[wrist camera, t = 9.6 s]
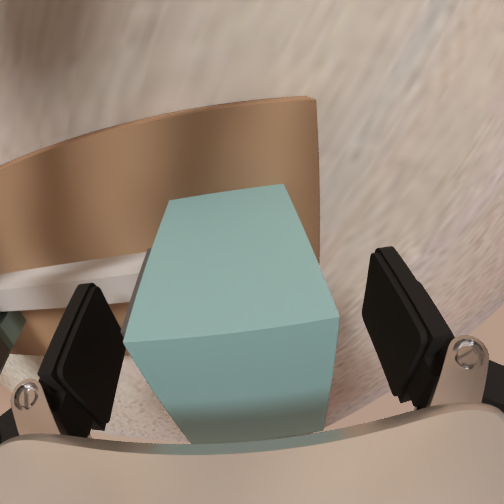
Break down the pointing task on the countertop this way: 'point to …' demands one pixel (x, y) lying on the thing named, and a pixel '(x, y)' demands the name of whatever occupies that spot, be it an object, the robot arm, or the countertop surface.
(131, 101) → the countertop surface
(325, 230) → the countertop surface
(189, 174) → the rail
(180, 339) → the mint green block
